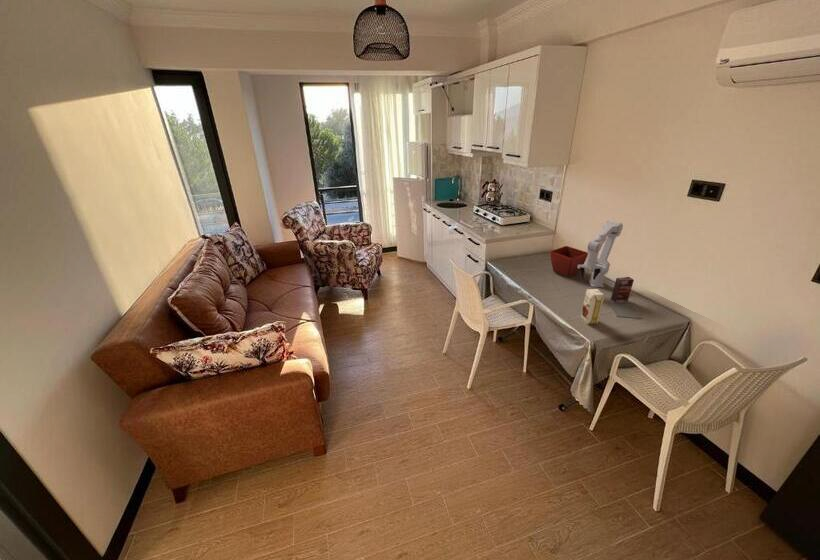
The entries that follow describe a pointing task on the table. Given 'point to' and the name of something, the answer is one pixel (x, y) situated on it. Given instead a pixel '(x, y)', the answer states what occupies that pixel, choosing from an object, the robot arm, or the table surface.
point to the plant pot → (567, 260)
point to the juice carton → (592, 306)
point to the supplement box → (622, 290)
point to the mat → (625, 310)
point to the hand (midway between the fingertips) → (587, 278)
